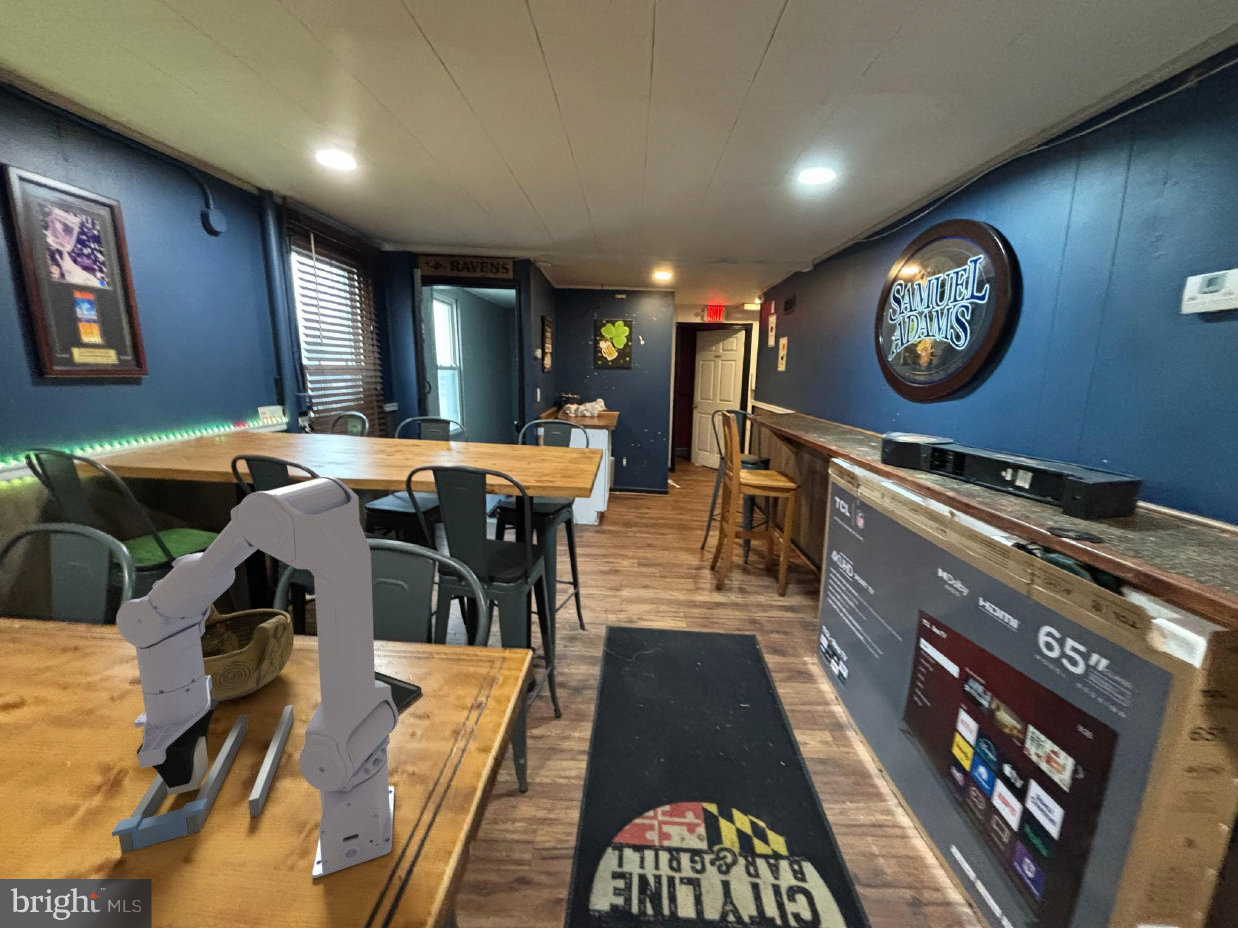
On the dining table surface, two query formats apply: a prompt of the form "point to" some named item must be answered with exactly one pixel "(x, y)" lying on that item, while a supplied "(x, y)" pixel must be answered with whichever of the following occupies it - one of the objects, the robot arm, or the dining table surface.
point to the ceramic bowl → (245, 650)
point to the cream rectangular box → (194, 769)
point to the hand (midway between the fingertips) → (187, 771)
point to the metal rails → (200, 793)
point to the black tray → (400, 690)
